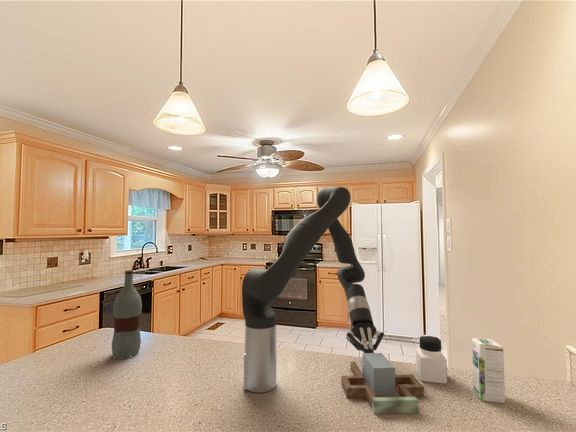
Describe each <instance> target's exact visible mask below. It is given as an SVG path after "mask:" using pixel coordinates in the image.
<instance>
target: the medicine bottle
mask: <svg viewBox="0 0 576 432" xmlns="http://www.w3.org/2000/svg"><path fill="white" fill-rule="evenodd" d="M447 361H448V360H447V358H446V356H444V354H443V353H442V340H441V339H440V338H438V337H436V336H434V335H429V334H426V335H421V336H419V348H415V368H416V369H415V370H416V373H417V375H418V376H419V379H420V380H421V382H424V383H436V384H445V385H446V384H448V372H447V370H448V365H447Z"/></svg>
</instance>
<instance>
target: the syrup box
mask: <svg viewBox="0 0 576 432" xmlns="http://www.w3.org/2000/svg"><path fill="white" fill-rule="evenodd" d="M471 341H472V342H471V343H472V344H471V345H472V347H471V348H472V352H471V353H472V388H473V389H472V391H474V392H475V395H477V397H478V398H479V400H480V401H482V402H492V403H501V404H502V403H503V404H505V403H506V395H505V394H506V390H505V389H506V388H505V355H504V350H505V349H504V347H503V346H502V345H500V344H499V343H498V342H497V341H495V340H494V339H491V338H483V337H472V339H471Z"/></svg>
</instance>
